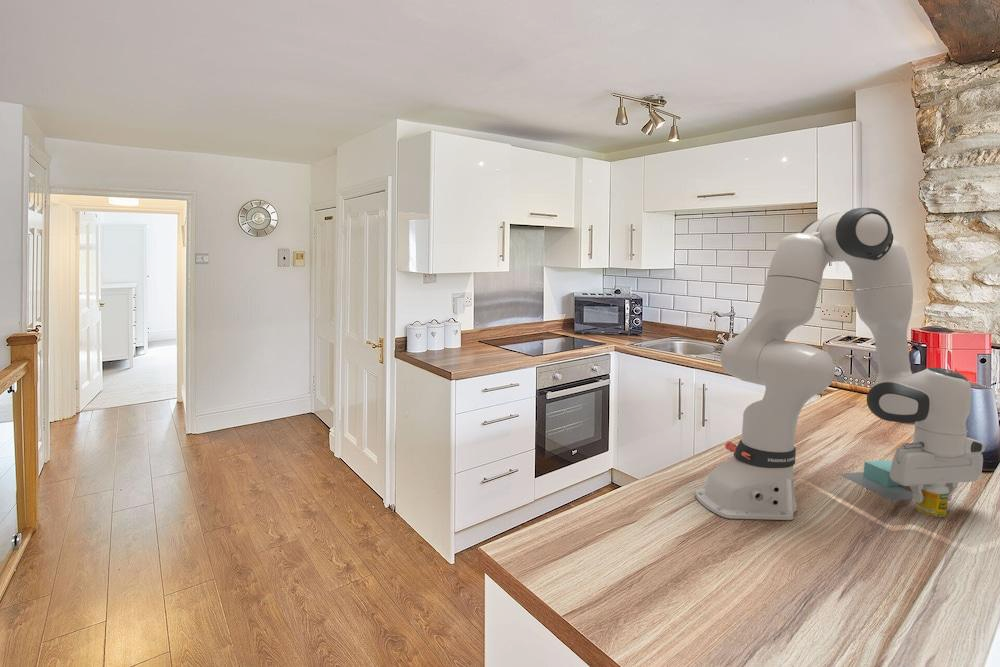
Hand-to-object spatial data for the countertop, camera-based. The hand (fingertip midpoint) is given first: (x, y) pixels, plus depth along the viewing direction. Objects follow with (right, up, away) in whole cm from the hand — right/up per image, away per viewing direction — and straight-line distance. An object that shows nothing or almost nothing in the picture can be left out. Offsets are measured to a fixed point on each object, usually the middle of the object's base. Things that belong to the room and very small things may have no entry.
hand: (931, 500), depth 117 cm
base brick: (+2, 0, +17) cm, 17 cm away
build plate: (+2, -2, +15) cm, 15 cm away
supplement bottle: (0, -4, 0) cm, 4 cm away
